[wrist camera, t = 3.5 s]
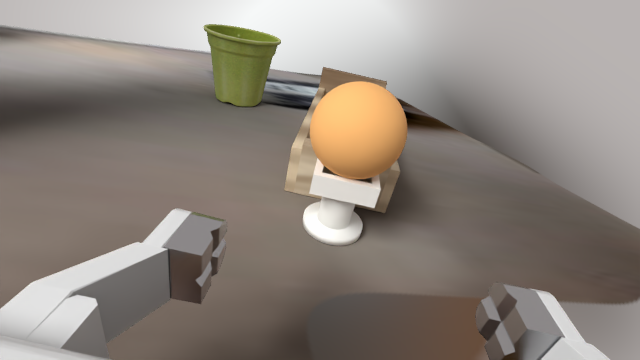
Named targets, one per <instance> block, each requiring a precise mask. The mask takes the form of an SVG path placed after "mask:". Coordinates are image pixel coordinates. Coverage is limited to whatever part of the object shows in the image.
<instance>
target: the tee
mask: <svg viewBox="0 0 640 360" xmlns="http://www.w3.org/2000/svg"><path fill="white" fill-rule="evenodd" d="M380 190H381V188H380V180H379V175H377V176H374V177H371V178H367V179H349V178H344V177H341V176H339V175H336V174H335V173H333V172H331V171H330V170H328V169H327V168H326V167H325V166H324V165H323V164H322V163H321V162H320V160H319V159H318V158H317V162H316V166H315V170H314V174H313V178H312V183H311V188H310V192H309V194H314V195H318V196H322V199H321V202H316V203H313V204H311V205H309V206H308V207H307V208H306V209H305V212H304V216H303V226H304V229H305V230H306V232H307V233H308V234H309V235H310V236H312V237H313V238H314V239H316V240H318V241H320V242H322V243H325V244H328V245H333V246H345V245H349V244H352V243H354V242H355V241H357V240H358V238H359V237H360V234H361V231H362V228H363V224H362V221H361V219H360V217H359V216H358V215H357V214H356V213H355V212H354V211H353V210H354V207H355V204H358V205H362V206H367V207H371V208H375V205H376V202H377V199H378V196H379V193H380Z"/></svg>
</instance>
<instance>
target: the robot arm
mask: <svg viewBox="0 0 640 360" xmlns="http://www.w3.org/2000/svg"><path fill="white" fill-rule="evenodd" d="M226 232H227V221H226V220H223V219H219V218H215V217H211V216H207V215H203V214H199V213H195V212H190V211H186V210H182V209H178V208H176V209H174V210H172V211H171V212H170V213H169V214H168V215H167V216H166V217H165V219H164V220H163V221H162V222H161V223H160V224H159V225H158V226H157V227H156V228H155V230H154V231H153V232H152V233H151V234H150V235H149V236H148V237H147V238H146V239H145V240H144V242H143V243H139V242H136V243H133V244H130V245H128V246H125V247H123V248H120V249H117V250H115V251H112V252H110V253H107V254H105V255H102V256H99V257H97V258H94V259H92V260H89V261H86V262H84V263H81V264H79V265H76V266H73V267H71V268H68V269H66V270H63V271H60V272H58V273H55V274H53V275H50V276H47V277H45V278H42V279H40V280H37V281H34V282H32V283H31V284H29V285H28V286H27V287H26V288H25V289H23V290H22V291H21V292H20V293H19V294H18V295H16V296H15V297H14V298H13V299H12V300H10V301H9V302H8V303H7V304H6V305H5V306H3V307H2V308H1V309H0V360H111V359H110V358H109V354H108V349H107V345H106V344H107V343H108V342H110V341H111V340H112V339H114V338H115V337H117V336H118V335H120V334H121V333H123V332H124V331H126V330H127V329H129V328H130V327H131V326H133V325H134V324H136V323H137V322H139V321H140V320H142V319H143V318H145V317H146V316H148V315H149V314H150V313H152V312H153V311H155V310H156V309H158V308H159V307H161V306H162V305H164V304H165V303H167V302H168V301H169V300H170V298H172V299H177V300H182V301H188V302H193V303H198V304H201V303H202V301H203V299H204V297H205V295H206V294H207V292H208V290H209V288H210V286H211V277H212V276H213V275H215V274H217V273H218V271H219V269H220V267H221V264H222V261H223V258H224V254H225V249H226V242H225V240H224V239H223V237H224V236H225V234H226ZM488 291H489V295H490V296H489V297H487V298H485V299H483V300H481V302H480V303H479V305H478V307H477V309H476V316H475V318H476V325H477V328H478V330H479V333H480V334H481V335H482V336H483V337H484V338H485V339H486V340H487V342H486V344H485V349H486V352H487V354H488V357H489V360H610V359H609V358H608V357H607V356H605V355H604V354H603V353H602V352H600V351H599V350H598V349H597V348H596V347H594V346H593V345H592V344H588V343H586V342H585V341H584V340H583V338H582V336H581V335H580V334H579V332H578V331H577V329H576V328H575V326H574V325H573V324H572V322H571V320H570V319H569V318H568V316H567V315H566V313H565V312H564V310H563V309H562V307H561V306H560V305H559V303H558V302H557V300H556V299H555V297H554V296H553V295H551V294H550V293H549V292H545V291H540V290H535V289H528V288H524V287H519V286H515V285H510V284H506V283H501V282H496V283H494V284H492V286H491V287H490V288H489V290H488Z"/></svg>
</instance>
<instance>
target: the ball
mask: <svg viewBox="0 0 640 360" xmlns="http://www.w3.org/2000/svg"><path fill="white" fill-rule="evenodd" d="M406 138H407V121H406V117H405V113H404V111H403V109H402V106H401V105H400V103H399V102H398V100H397V99H396V98H395V97H394V96H393V95H392V94H391V93H390V92H389V91H388V90H386V89H385V88H383V87H381V86H379V85H377V84H374V83H370V82H364V81H356V82H349V83H345V84H342V85H340V86H338V87H336V88H334V89H332V90H331V91H330V92H328V93H327V94H326V95H325V96H324V97H323V98H322V99H321V100H320V102H319V103H318V105H317V106H316V108H315V110H314V113H313V115H312V118H311V123H310V140H311V144H312V147H313V150H314V152H315V154H316V156H317V158H318V159H319V160H320V162H321V163H322V164H323V165H324V166H325V167H326V168H327V169H328V170H330V171H331V172H333V173H335V174H336V175H339V176H341V177H344V178H349V179H367V178H371V177H374V176H377V175H379V174H381V173H383V172H384V171H386V170H387V169H388V168H390V167H391V166H392V165H393V164H394V163H395V161H396V160H397V159H398V158H399V156H400V154H401V153H402V150H403V148H404V146H405V142H406Z"/></svg>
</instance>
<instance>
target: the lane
mask: <svg viewBox="0 0 640 360" xmlns="http://www.w3.org/2000/svg"><path fill="white" fill-rule="evenodd" d="M356 81H364V82H370V83H374V84H377V85H379V86H381V87H383V88H386V85H387V82H386V81H382V80H378V79H374V78H369V77H365V76H361V75H356V74H352V73H347V72H343V71H339V70H334V69H330V68H326V67H323V71H322V75H321V80H320V85H319V89H318V91H317V93H316V95H315V97H314V100H313V102H312V104H311V106H310V108H309V110H308V113H307V115H306V117H305V119H304V121H303V123H302V126H301V128H300V130H299V132H298V134H297V137H296V139H295V141H294V143H293V145H292V148H291V154H290V160H289V166H288V172H287V177H286V183H285V189H284V190H285V191H290V192H294V193H297V194H301V195H306V196H310V197H315V198H319V199H322V196H318V195H314V194H309V192H310V188H311V183H312V178H313V174H314V170H315V166H316V162H317V156H316V154H315V152H314V150H313V147H312V144H311V140H310V123H311V118H312V115H313V113H314V110H315V108H316V106H317V105H318V103H319V102H320V100H321V99H322V98H323V97H324V96H325V95H326V94H327V93H328V92H330V91H331V90H332V89H334V88H336V87H338V86H340V85H342V84H345V83H349V82H356ZM399 174H400V169H399V165H398V161H397V160H396V161H395V163H394V164H393V165H392V166H391V167H390V168H388V169H387V170H386V171H384V172H383V173H381V174H379V180H380V188H381V190H380V193H379V196H378V199H377V202H376V205H375V208H371V207H367V206H362V205H358V204H355V207H359V208H363V209H368V210H372V211H378V212H383V213H385V211H386V209H387V206H388V203H389V201H390V198H391V195H392V193H393V190H394V187H395V185H396V182H397V179H398V176H399Z"/></svg>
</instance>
